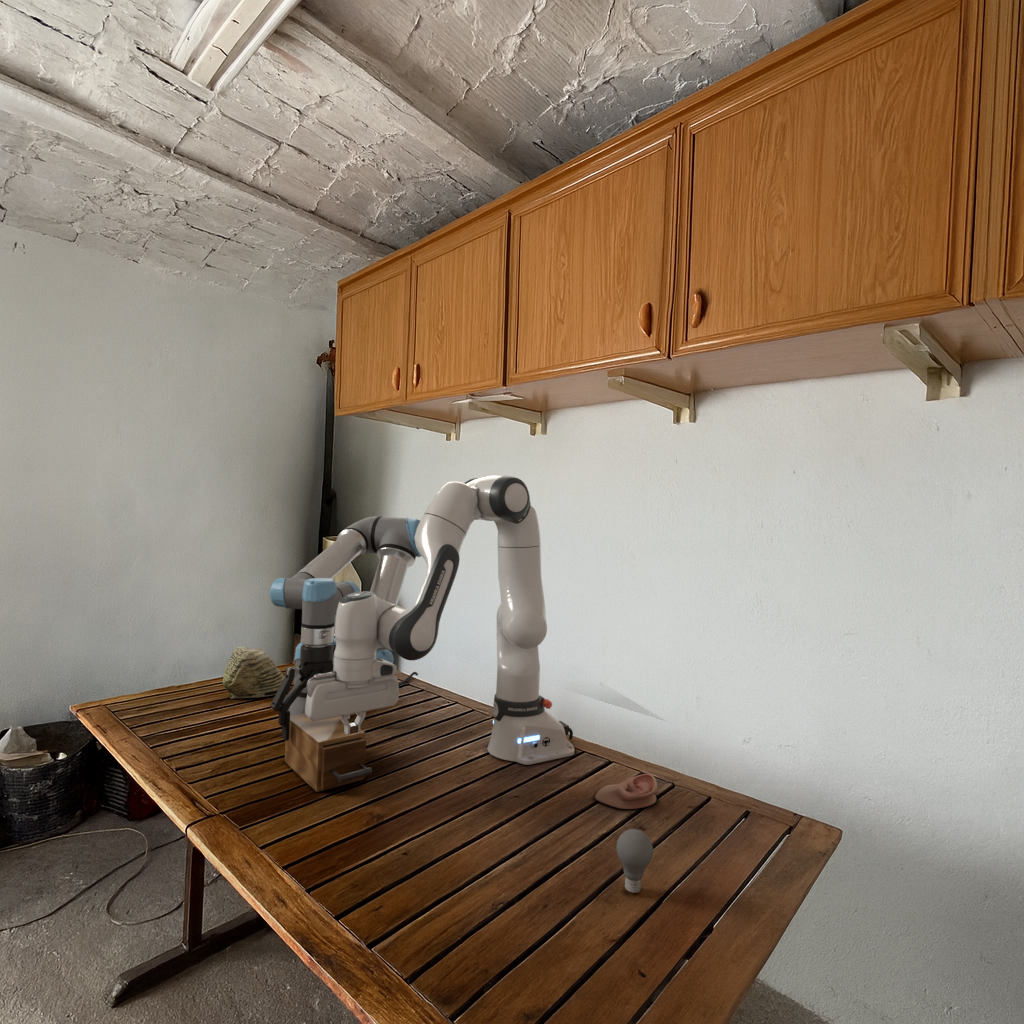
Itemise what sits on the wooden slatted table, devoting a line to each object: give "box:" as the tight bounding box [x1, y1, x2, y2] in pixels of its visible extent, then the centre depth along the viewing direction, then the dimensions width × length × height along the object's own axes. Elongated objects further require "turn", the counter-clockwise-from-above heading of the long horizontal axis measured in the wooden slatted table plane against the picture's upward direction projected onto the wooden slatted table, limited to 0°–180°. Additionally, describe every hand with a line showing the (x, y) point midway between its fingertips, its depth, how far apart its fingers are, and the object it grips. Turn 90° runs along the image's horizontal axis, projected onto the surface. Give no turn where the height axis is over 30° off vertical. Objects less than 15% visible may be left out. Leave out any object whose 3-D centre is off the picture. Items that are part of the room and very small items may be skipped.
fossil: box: [222, 646, 285, 699], centre depth 198 cm, size 9×18×15 cm, turn 132°
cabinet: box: [284, 713, 366, 793], centre depth 146 cm, size 19×11×11 cm, turn 40°
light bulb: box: [615, 828, 654, 894], centre depth 106 cm, size 6×6×10 cm
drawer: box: [321, 738, 373, 791], centre depth 142 cm, size 23×10×9 cm, turn 40°
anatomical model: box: [594, 773, 658, 810], centre depth 139 cm, size 13×4×12 cm
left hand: (313, 732), depth 151 cm, fingers open, 13 cm apart
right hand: (352, 732), depth 135 cm, fingers closed
